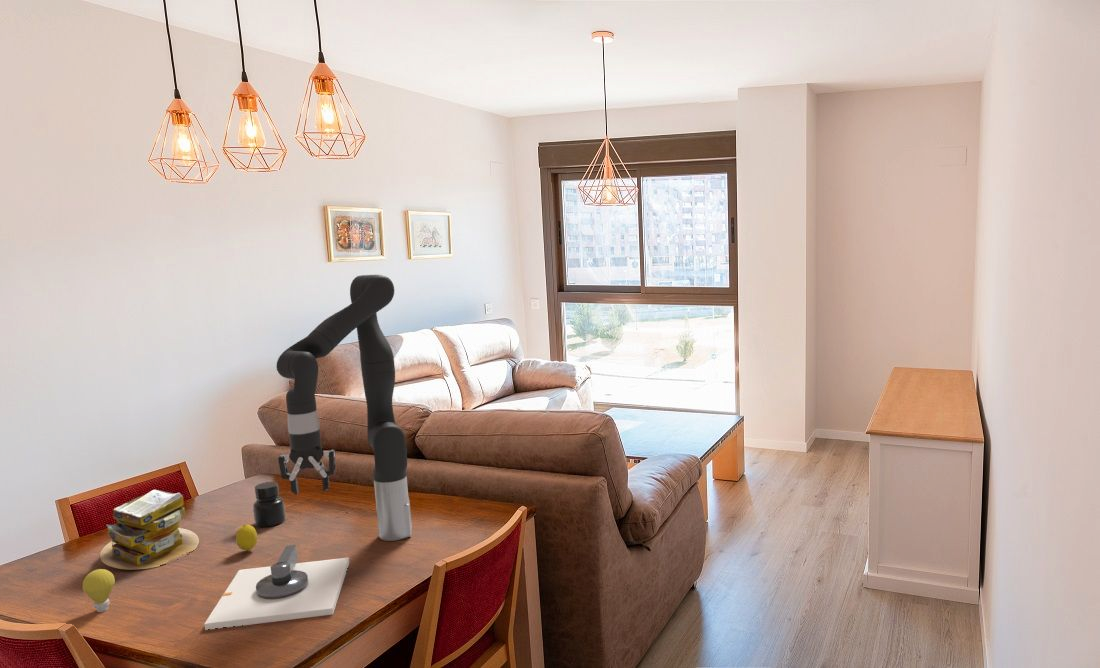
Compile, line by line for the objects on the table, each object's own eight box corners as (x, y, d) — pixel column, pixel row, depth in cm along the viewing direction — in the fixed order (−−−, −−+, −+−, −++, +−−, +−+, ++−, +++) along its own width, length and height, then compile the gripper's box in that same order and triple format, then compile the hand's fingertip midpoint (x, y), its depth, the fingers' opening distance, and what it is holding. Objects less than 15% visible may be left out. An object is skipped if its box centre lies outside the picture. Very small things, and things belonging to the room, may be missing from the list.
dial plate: (349, 562, 197) (348, 556, 197) (333, 614, 170) (332, 607, 169) (239, 575, 194) (239, 569, 193) (205, 630, 166) (204, 623, 166)
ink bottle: (279, 514, 237) (275, 478, 236) (291, 520, 231) (287, 483, 230) (249, 523, 231) (244, 486, 229) (261, 530, 224) (256, 492, 223)
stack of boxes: (216, 545, 215) (209, 490, 213) (128, 580, 195) (119, 519, 193) (171, 530, 230) (164, 478, 227) (85, 561, 210) (77, 504, 207)
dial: (303, 595, 176) (300, 573, 176) (250, 601, 175) (248, 579, 174) (316, 562, 194) (314, 542, 194) (269, 568, 193) (267, 547, 192)
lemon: (251, 555, 206) (248, 528, 205) (233, 555, 207) (230, 528, 206) (262, 547, 211) (259, 520, 210) (245, 547, 212) (242, 520, 211)
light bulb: (95, 604, 182) (89, 565, 181) (123, 601, 183) (118, 563, 182) (80, 617, 176) (74, 578, 174) (110, 615, 176) (104, 575, 175)
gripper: (335, 422, 192) (341, 484, 194) (278, 428, 190) (285, 490, 192) (330, 430, 185) (337, 494, 187) (271, 435, 183) (278, 500, 185)
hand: (310, 492), depth 190 cm, fingers open, 6 cm apart
